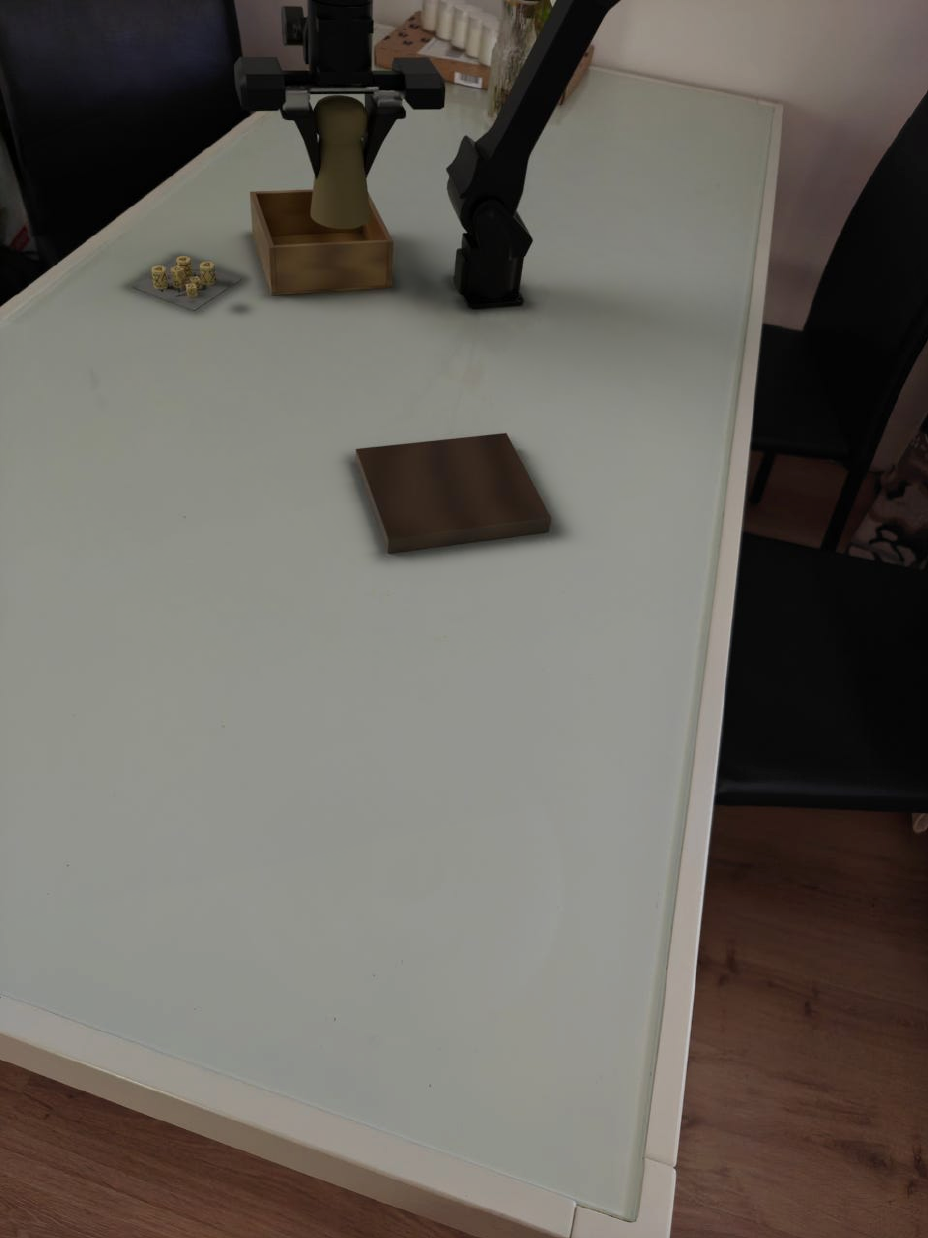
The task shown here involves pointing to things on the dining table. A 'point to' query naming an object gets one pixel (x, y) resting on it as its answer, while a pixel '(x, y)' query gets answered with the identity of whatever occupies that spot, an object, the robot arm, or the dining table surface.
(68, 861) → the dining table surface
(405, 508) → the walnut board
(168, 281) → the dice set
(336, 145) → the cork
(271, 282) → the wooden box
